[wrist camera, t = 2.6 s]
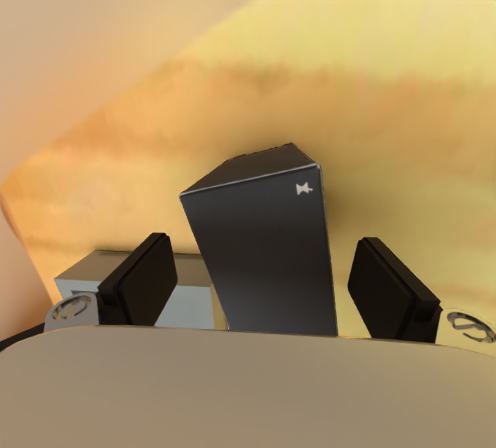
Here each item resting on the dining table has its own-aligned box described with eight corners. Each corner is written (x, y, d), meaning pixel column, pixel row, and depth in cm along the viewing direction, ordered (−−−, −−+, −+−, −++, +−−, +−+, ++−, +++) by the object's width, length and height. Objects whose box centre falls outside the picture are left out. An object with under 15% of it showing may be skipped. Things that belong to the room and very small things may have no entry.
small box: (220, 159, 18) (167, 191, 9) (295, 141, 17) (328, 153, 8) (248, 260, 22) (233, 357, 13) (311, 250, 21) (346, 349, 12)
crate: (222, 255, 22) (210, 287, 18) (229, 362, 29) (222, 404, 25) (95, 250, 24) (53, 278, 19) (131, 353, 31) (107, 392, 26)
